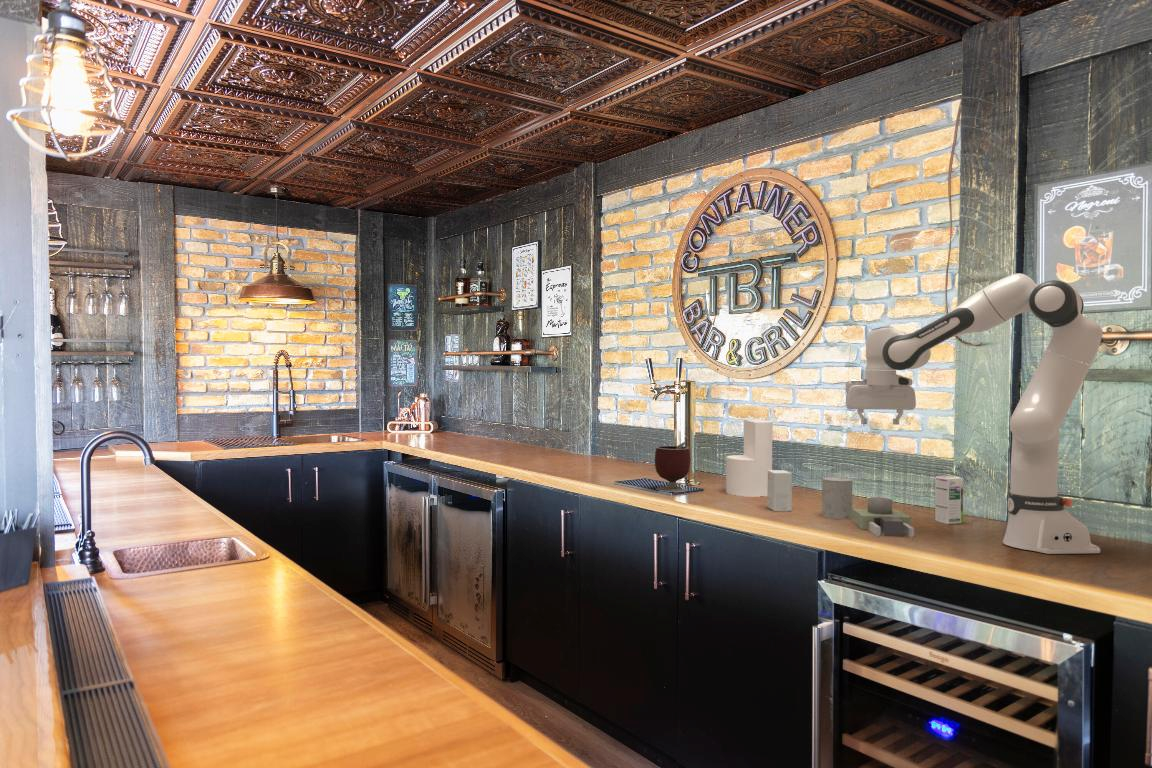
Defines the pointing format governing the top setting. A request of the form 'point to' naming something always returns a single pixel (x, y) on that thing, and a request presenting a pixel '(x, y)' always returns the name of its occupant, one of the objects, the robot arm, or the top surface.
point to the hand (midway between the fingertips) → (879, 424)
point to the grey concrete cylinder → (837, 497)
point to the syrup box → (949, 499)
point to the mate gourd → (672, 465)
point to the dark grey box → (891, 526)
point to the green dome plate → (872, 516)
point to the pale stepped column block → (751, 461)
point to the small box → (779, 490)
